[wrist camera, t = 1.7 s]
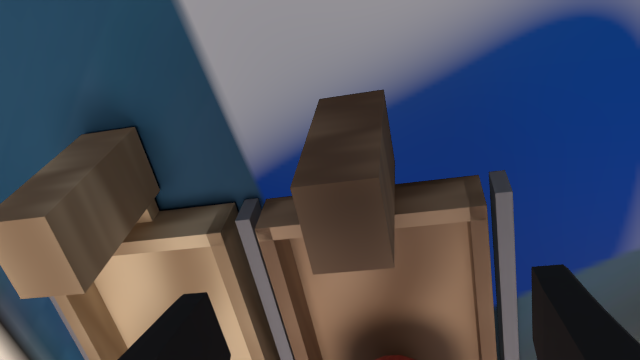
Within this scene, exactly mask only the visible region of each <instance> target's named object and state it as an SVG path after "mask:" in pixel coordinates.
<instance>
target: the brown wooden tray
mask: <svg viewBox="0 0 640 360" xmlns="http://www.w3.org/2000/svg"><path fill="white" fill-rule="evenodd" d="M489 182H490V183H489V184H490V199H491V216H492V232H493V248H494V265H495V281H496V296H497V313H498V330H499V346H500V360H519V344H518V318H517V292H516V266H515V243H514V242H515V241H514V216H513V191H512V188H511V186H510V183H509V180H508V177H507V175H506V172H505V170H502V171H493V172H489ZM261 211H262V210H261V206H260V203H259V200H258V198H256V199H247V200H244V202H243V204H242V207H241V209H240V211H239V213H238V216H237V218H236V220H235V222H236V225H237V228H238V231H239V234H240V238H241V241H242V244H243V247H244V250H245V253H246V256H247V259H248V262H249V265H250V268H251V271H252V274H253V277H254V280H255V283H256V286H257V289H258V292H259V295H260V298H261V301H262V304H263V307H264V310H265V313H266V316H267V320H268V323H269V326H270V329H271V332H272V335H273V338H274V341H275V344H276V347H277V350H278V353H279V356H280V359H281V360H295V357H294V354H293V351H292V348H291V344H290V341H289V338H288V335H287V332H286V328H285V325H284V322H283V319H282V316H281V312H280V309H279V306H278V303H277V300H276V296H275V293H274V290H273V287H272V283H271V280H270V277H269V274H268V271H267V267H266V264H265V261H264V258H263V255H262V251H261V248H260V245H259V242H258V239H257V235H256V232H255V227H256V224H257V222H258V219H259V216H260V214H261ZM50 299H51V301H52V303H53V304H54V306H55V308H56V310H57V311H58V313H59V315H60V317H61V318H62V320H63V322H64V324H65V325H66V327H67V329H68V331H69V333H70V334H71V336H72V338H73V340H74V341H75V343H76V345H77V347H78V348H79V350H80V352H81V354H82V355H83V357H84V359H85V360H89V358H88V356H87V355H86V353H85V351H84V349H83V347H82V346H81V344H80V342H79V340H78V339H77V337H76V335H75V333H74V331H73V330H72V328H71V326H70V324H69V323H68V321H67V319H66V317H65V315H64V314H63V312H62V310H61V308H60V307H59V305H58V303H57V301H56V299H55V298H54V296H51V297H50Z"/></svg>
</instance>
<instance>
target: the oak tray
mask: <svg viewBox="0 0 640 360" xmlns="http://www.w3.org/2000/svg"><path fill="white" fill-rule="evenodd" d="M159 191H160V189H159V187H158V184H157V182H156V179H155V177H154V174H153V172H152V169H151V167H150V164H149V162H148V159H147V156H146V154H145V151H144V149H143V146H142V144H141V141H140V139H139V136H138V134H137V131H136V129H135V127H130V128H123V129H117V130H110V131H103V132H97V133H90V134H83V135H81V136H80V137H78V138H77V139H76V140H75V141H74V142H73V143H71V144H70V145H69V146H68V147H67V148H66V149H64V150H63V151H62V152H61V153H60V154H59V155H57V156H56V157H55V158H54V159H53V160H52V161H50V162H49V163H48V164H47V165H46V166H44V167H43V168H42V169H41V170H40V171H39V172H37V173H36V174H35V175H34V176H33V177H32V178H30V179H29V180H28V181H27V182H26V183H25V184H23V185H22V186H21V187H20V188H19V189H18V190H16V191H15V192H14V193H13V194H12V195H10V196H9V197H8V198H7V199H6V200H5V201H3V202H2V203H1V204H0V265H1V266H2V268H3V270H4V271H5V273H6V275H7V276H8V278H9V280H10V281H11V283H12V285H13V286H14V288H15V290H16V291H17V293H18V295H19V296H20V298H21V299H26V298H38V297H51V296H54V298H55V299H56V301H57V303H58V305H59V307H60V308H61V310H62V312H63V314H64V315H65V317H66V319H67V321H68V323H69V324H70V326H71V328H72V330H73V331H74V333H75V335H76V337H77V339H78V340H79V342H80V344H81V346H82V347H83V349H84V351H85V353H86V355H87V356H88V358H89V360H117V359H119V358H120V357H121V356H122V355H123V354H124V353H125V352H126V351H127V350H128V349H129V348H130V347H131V345H132V344H133V343H134V342H135V341H136V340H137V339H138V338H139V337H140V336H141V335H142V334H143V333H144V332H145V331H146V330H147V329H148V328H149V327H150V326H151V325H152V324H153V323H154V322H155V321H156V320H157V319H158V318H159V317H160V316H161V315H162V314H163V313H164V312H165V311H166V310H167V309H168V308H169V307H170V306H171V305H172V304H173V303H174V302H175V301H176V300H177V299H178V298H179V297H180V296H182V295H183V294H190V293H202V292H207V293H208V296H209V298H210V301H211V304H212V306H213V309H214V311H215V314H216V317H217V319H218V322H219V324H220V327H221V330H222V332H223V335H224V337H225V340H226V343H227V345H228V348H229V350H230V353H231V358H230V360H281V359H280V356H279V353H278V350H277V347H276V344H275V341H274V338H273V335H272V332H271V329H270V326H269V323H268V320H267V316H266V313H265V310H264V307H263V304H262V301H261V298H260V295H259V292H258V289H257V286H256V283H255V280H254V277H253V274H252V271H251V268H250V265H249V262H248V259H247V256H246V253H245V250H244V247H243V244H242V241H241V238H240V234H239V231H238V228H237V225H236V222H235V220H236V218H237V216H238V211H237V208H236V205H235V203H228V204H219V205H210V206H201V207H192V208H183V209H174V210H166V211H159V209H158V207H157V204H156V202H155V199H154V198H155V197H156V195H157V194H158V193H159Z"/></svg>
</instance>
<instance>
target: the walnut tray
mask: <svg viewBox="0 0 640 360" xmlns="http://www.w3.org/2000/svg"><path fill="white" fill-rule="evenodd" d="M290 189H291V193H292V196H288V197H279V198H270V199H266V201H265V204H264V206H263V209H262V211H261V214H260V216H259V219H258V222H257V224H256V227H255V232H256V235H257V239H258V242H259V245H260V248H261V251H262V255H263V258H264V261H265V264H266V267H267V271H268V274H269V277H270V280H271V283H272V287H273V290H274V293H275V296H276V300H277V303H278V306H279V309H280V312H281V316H282V319H283V322H284V325H285V328H286V332H287V335H288V338H289V341H290V344H291V348H292V351H293V354H294V357H295V360H375V359H377V358H380V357H382V356H385V355H403V356H406V357H409V358H412V359H416V360H497V353H496V338H495V322H494V307H493V293H492V277H491V262H490V246H489V231H488V217H487V204H486V201H485V197H484V193H483V190H482V186H481V182H480V178H479V175H474V176H465V177H457V178H447V179H439V180H429V181H421V182H412V183H403V184H395V160H394V154H393V147H392V141H391V135H390V129H389V121H388V115H387V108H386V101H385V95H384V90H377V91H371V92H364V93H357V94H350V95H344V96H337V97H330V98H324V99H319V102H318V105H317V108H316V111H315V114H314V117H313V120H312V123H311V126H310V129H309V132H308V135H307V138H306V142H305V145H304V147H303V151H302V153H301V157H300V160H299V163H298V166H297V169H296V172H295V175H294V178H293V181H292V184H291V187H290Z"/></svg>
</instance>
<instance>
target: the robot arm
mask: <svg viewBox="0 0 640 360" xmlns="http://www.w3.org/2000/svg"><path fill="white" fill-rule="evenodd" d="M532 328H533V342H534V347H535V351H536V355H537V360H640V344H639V343H638V342H637V341H636V340H635V339H634V338H633V337H632V336H631V335H630V334H629V333H628V332H627V331H626V330H625V329H624V328H623V327H622V326H621V325H620V324H619V323H618V322H617V321H616V320H615V319H614V318H613V317H612V316H611V315H610V314H609V313H608V312H607V311H606V310H605V309H604V308H603V307H602V306H601V305H600V304H599V303H598V302H597V300H596V299H595V298H594V297H593V296H592V295H591V294H590V293H589V292H588V291H587V290H586V288H585V287H584V286H583V285H582V284H581V283H580V282H579V281H578V279H577V278H576V277H575V276H574V275H573V274H572V272H571V271H570V270H569V269H568V268H567V267H565V266H564V265H550V266H537V267H532ZM230 358H231V353H230V350H229V348H228V345H227V343H226V340H225V337H224V335H223V332H222V330H221V327H220V324H219V322H218V319H217V317H216V314H215V311H214V309H213V306H212V304H211V301H210V298H209V296H208V293H207V292H202V293H190V294H183V295H182V296H180V297H179V298H178V299H177V300H176V301H175V302H174V303H173V304H172V305H171V306H170V307H169V308H168V309H167V310H166V311H165V312H164V313H163V314H162V315H161V316H160V317H159V318H158V319H157V320H156V321H155V322H154V323H153V324H152V325H151V326H150V327H149V328H148V329H147V330H146V331H145V332H144V333H143V334H142V335H141V336H140V337H139V338H138V339H137V340H136V341H135V342H134V343H133V344H132V345H131V347H130V348H129V349H128V350H127V351H126V352H125V353H124V354H123V355H122V356H121V357H120V358H119V359H117V360H230Z"/></svg>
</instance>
